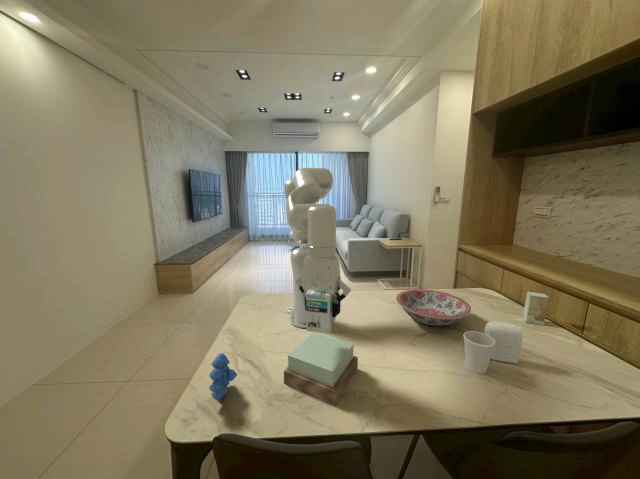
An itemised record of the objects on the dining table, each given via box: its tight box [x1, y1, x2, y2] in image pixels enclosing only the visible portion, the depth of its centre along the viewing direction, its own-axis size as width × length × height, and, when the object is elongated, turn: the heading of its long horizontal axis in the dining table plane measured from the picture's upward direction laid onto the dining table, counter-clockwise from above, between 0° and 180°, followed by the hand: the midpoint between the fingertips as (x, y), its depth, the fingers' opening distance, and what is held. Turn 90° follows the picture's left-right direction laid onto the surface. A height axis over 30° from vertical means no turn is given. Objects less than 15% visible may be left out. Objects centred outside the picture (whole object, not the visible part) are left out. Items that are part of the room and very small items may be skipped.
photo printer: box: [483, 321, 524, 364], centre depth 84 cm, size 10×4×12 cm, turn 72°
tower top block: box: [287, 332, 354, 387], centre depth 76 cm, size 14×14×4 cm
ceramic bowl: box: [395, 288, 472, 327], centre depth 111 cm, size 29×29×8 cm
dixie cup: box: [462, 330, 495, 374], centre depth 80 cm, size 8×8×10 cm
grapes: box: [208, 352, 238, 401], centre depth 69 cm, size 12×7×12 cm, turn 8°
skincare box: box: [522, 291, 550, 326], centre depth 108 cm, size 6×4×12 cm
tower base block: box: [283, 355, 359, 406], centre depth 77 cm, size 16×16×4 cm
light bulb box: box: [306, 290, 337, 335], centre depth 73 cm, size 11×7×11 cm, turn 168°
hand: (322, 311), depth 74 cm, fingers closed on light bulb box, 8 cm apart
